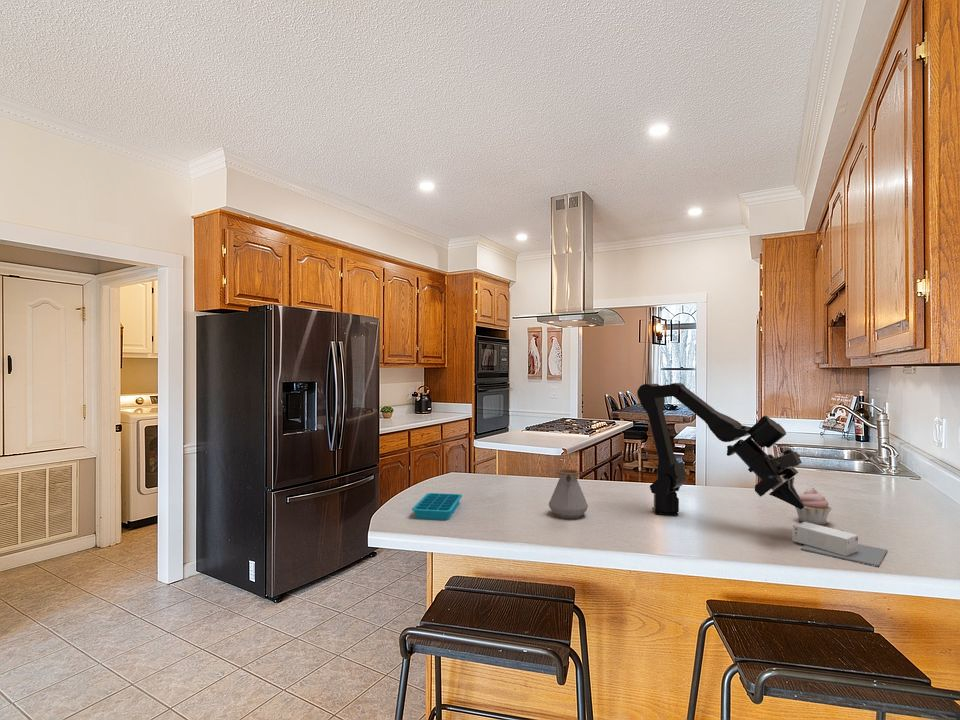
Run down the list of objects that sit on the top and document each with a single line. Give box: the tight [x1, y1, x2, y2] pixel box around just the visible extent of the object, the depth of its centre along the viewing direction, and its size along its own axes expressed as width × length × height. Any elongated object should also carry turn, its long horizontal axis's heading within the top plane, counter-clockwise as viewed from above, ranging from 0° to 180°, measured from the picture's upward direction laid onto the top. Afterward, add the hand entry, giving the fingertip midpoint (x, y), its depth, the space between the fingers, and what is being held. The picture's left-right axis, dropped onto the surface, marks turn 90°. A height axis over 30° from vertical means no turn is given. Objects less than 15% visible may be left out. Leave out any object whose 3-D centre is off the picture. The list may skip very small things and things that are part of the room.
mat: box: [800, 543, 888, 567], centre depth 125 cm, size 15×14×1 cm
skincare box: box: [791, 522, 859, 556], centre depth 126 cm, size 6×4×12 cm
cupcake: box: [794, 487, 833, 526], centre depth 148 cm, size 9×9×10 cm
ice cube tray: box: [411, 492, 463, 521], centre depth 157 cm, size 12×20×3 cm, turn 172°
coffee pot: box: [548, 469, 589, 519], centre depth 149 cm, size 21×12×15 cm, turn 170°
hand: (803, 508), depth 131 cm, fingers closed
